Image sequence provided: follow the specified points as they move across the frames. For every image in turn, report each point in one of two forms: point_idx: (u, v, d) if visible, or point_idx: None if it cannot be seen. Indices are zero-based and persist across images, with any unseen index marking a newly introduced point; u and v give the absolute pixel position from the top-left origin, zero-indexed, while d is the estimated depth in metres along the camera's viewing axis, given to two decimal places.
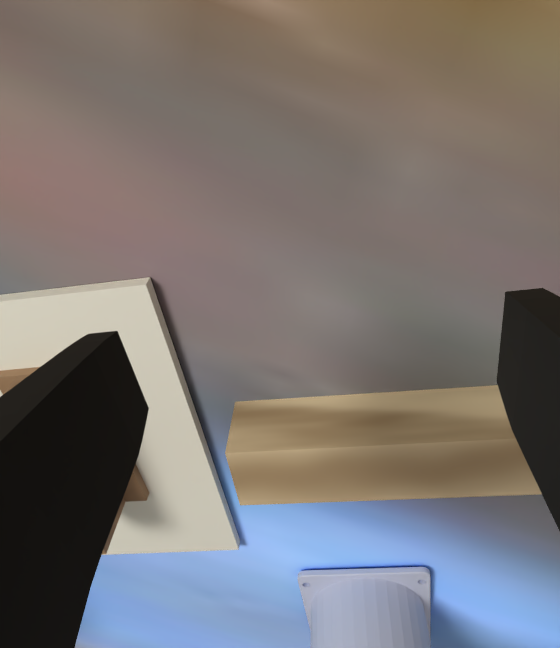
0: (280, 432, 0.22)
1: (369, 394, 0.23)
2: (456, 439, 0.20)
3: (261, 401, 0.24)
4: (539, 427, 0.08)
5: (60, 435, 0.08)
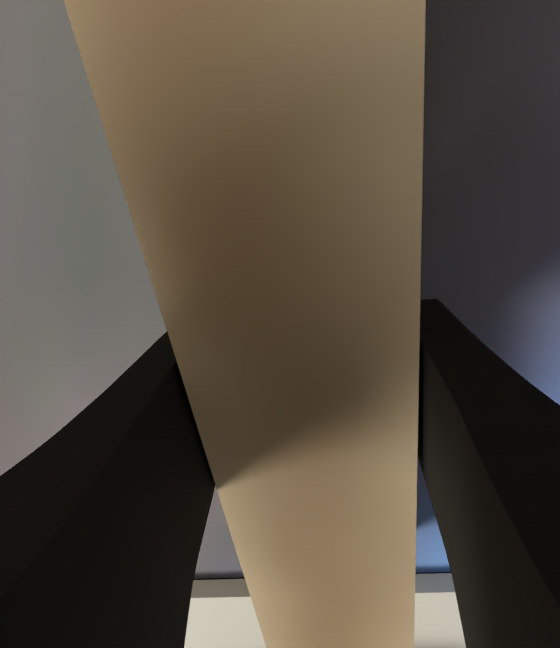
0: None
1: None
2: (178, 357, 0.08)
3: None
4: (424, 435, 0.08)
5: (169, 427, 0.07)
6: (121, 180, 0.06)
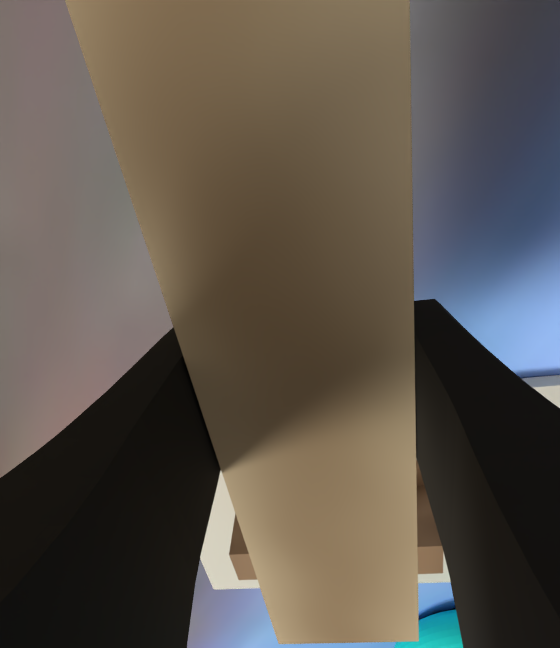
0: None
1: None
2: (182, 342, 0.08)
3: None
4: (422, 435, 0.08)
5: (171, 427, 0.07)
6: (123, 171, 0.06)
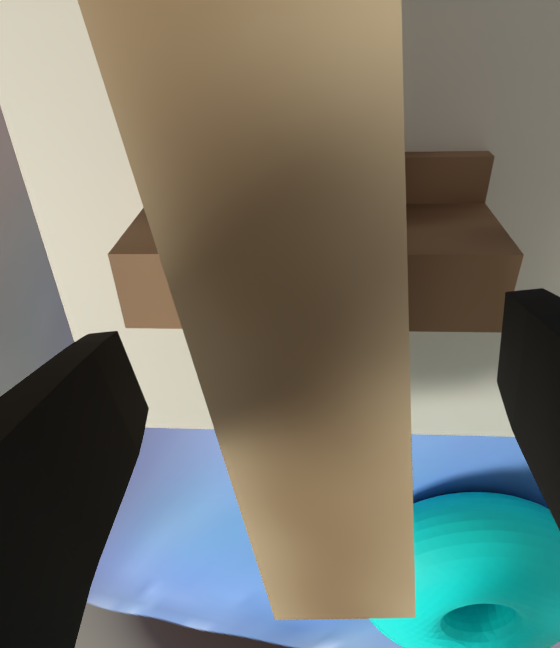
0: None
1: None
2: (175, 299, 0.08)
3: None
4: (539, 427, 0.08)
5: (60, 435, 0.08)
6: (116, 116, 0.06)
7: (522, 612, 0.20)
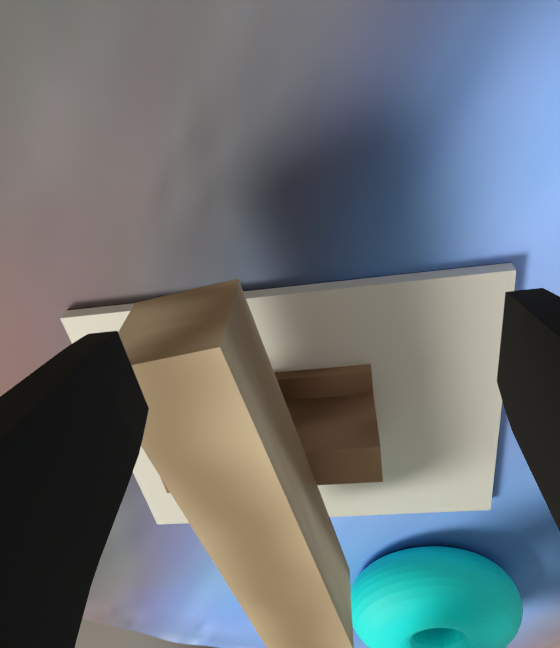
0: None
1: None
2: (189, 518, 0.17)
3: None
4: (539, 427, 0.08)
5: (60, 435, 0.08)
6: (154, 465, 0.15)
7: (464, 632, 0.28)
